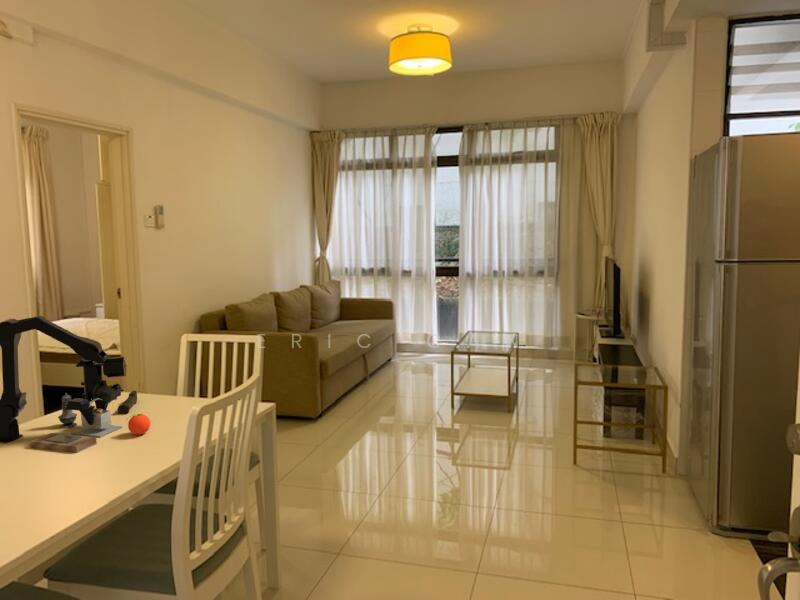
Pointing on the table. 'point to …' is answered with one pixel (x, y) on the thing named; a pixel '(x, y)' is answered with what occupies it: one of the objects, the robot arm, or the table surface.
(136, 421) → the tomato
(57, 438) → the body
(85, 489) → the table surface
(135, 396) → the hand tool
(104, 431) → the rubber mat
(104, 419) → the lever cap
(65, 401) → the weathered candle holder
